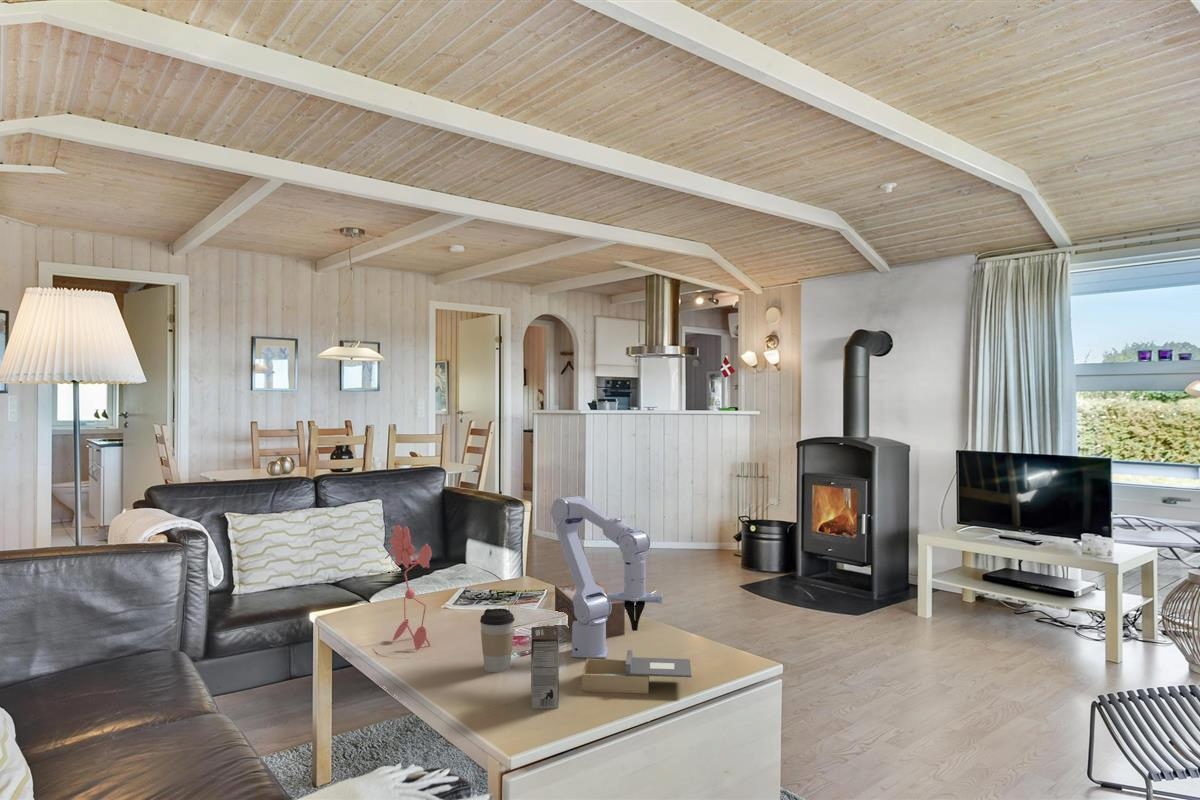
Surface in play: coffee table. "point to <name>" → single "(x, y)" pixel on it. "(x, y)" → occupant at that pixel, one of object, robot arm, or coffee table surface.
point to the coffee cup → (497, 639)
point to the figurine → (403, 552)
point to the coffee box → (544, 667)
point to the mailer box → (611, 677)
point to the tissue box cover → (566, 593)
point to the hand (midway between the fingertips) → (634, 629)
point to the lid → (657, 666)
